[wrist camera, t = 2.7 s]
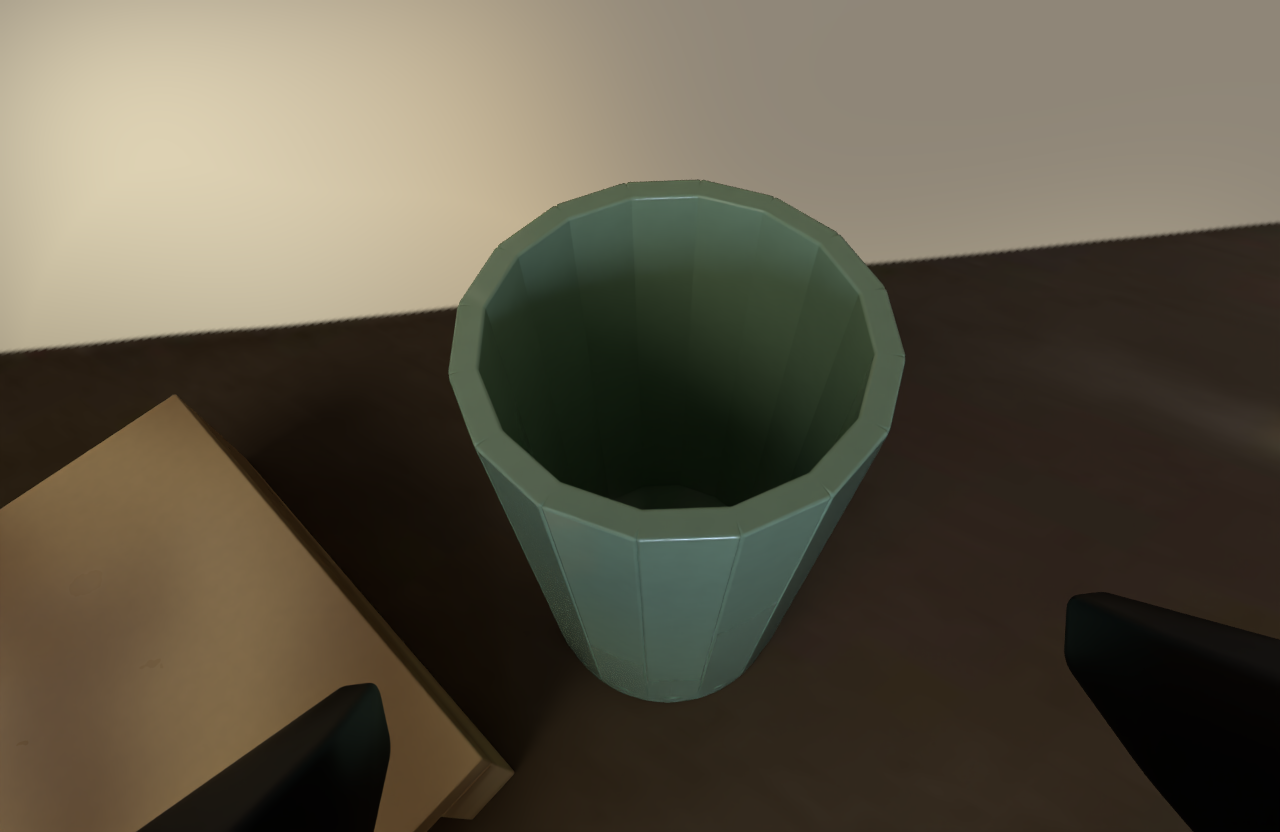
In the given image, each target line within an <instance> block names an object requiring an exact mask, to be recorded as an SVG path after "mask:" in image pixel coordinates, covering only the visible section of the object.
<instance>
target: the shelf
mask: <svg viewBox="0 0 1280 832" xmlns="http://www.w3.org/2000/svg"><path fill="white" fill-rule="evenodd" d="M363 683H373V684H375V685H376V686H377V687H378V689H379V691H380V694H381V698H382V703H383V707H384V712H385V717H386V721H387V726H388V731H389V735H390V743H391V752H390V760H389V765H388V769H387V774H386V778H385V783H384V787H383V792H382V797H381V801H380V806H379V810H378V815H377V820H376V824H375V829H374V832H427V831H428V830H429V829H430V828H431V827H432V826H433V825H434V824H435V823H436V821H437V820H438V819H439V818H440V817H449V818H460V819H471V820H472V819H473V818H474V817H475V816H476V815H477V814H478V813H479V812H480V811H481V810H482V808H483V807H484V806H485V805H486V804H487V803H488V802H489V801H490V800H491V799H492V798H493V797H494V795H495V794H496V793H497V792H498V791H499V790H500V789H501V788H502V787H503V786H504V785H505V783H506V782H507V781H508V780H509V779H510V778H511V777H512V776H513V775H514V771H513V769H512V768H511V767H510V766H509V765H508V764H507V762H506V761H505V760H504V759H503V758H502V757H501V755H500V754H499V753H498V752H497V751H496V750H495V748H494V747H493V746H492V745H491V744H490V743H489V741H488V740H487V739H486V738H485V737H484V736H483V734H482V733H481V732H480V731H479V730H478V729H477V727H476V726H475V725H474V724H473V723H472V722H471V720H470V719H469V718H468V717H467V716H466V715H465V713H464V712H463V711H462V710H461V709H460V708H459V706H458V705H457V704H456V703H455V702H454V701H453V699H452V698H451V697H450V696H449V695H448V694H447V692H446V691H445V690H444V689H443V688H442V687H441V685H440V684H439V683H438V682H437V681H436V680H435V678H434V677H433V676H432V675H431V674H430V673H429V671H428V670H427V669H426V668H425V667H424V666H423V664H422V663H421V662H420V661H419V660H418V659H417V657H416V656H415V655H414V654H413V653H412V652H411V650H410V649H409V648H408V647H407V646H406V645H405V643H404V642H403V641H402V640H401V639H400V638H399V637H398V635H397V634H396V633H395V632H394V631H393V630H392V628H391V627H390V626H389V625H388V624H387V623H386V621H385V620H384V619H383V618H382V617H381V616H380V614H379V613H378V612H377V611H376V610H375V609H374V607H373V606H372V605H371V604H370V603H369V602H368V600H367V599H366V598H365V597H364V596H363V595H362V593H361V592H360V591H359V590H358V589H357V588H356V586H355V585H354V584H353V583H352V582H351V581H350V579H349V578H348V577H347V576H346V575H345V574H344V572H343V571H342V570H341V569H340V568H339V567H338V565H337V564H336V563H335V562H334V561H333V560H332V558H331V557H330V556H329V555H328V554H327V553H326V551H325V550H324V549H323V548H322V547H321V546H320V544H319V543H318V542H317V541H316V540H315V539H314V537H313V536H312V535H311V534H310V533H309V532H308V530H307V529H306V528H305V527H304V526H303V525H302V523H301V522H300V521H299V520H298V519H297V518H296V516H295V515H294V514H293V513H292V512H291V511H290V509H289V508H288V507H287V506H286V505H285V504H284V502H283V501H282V500H281V499H280V498H279V497H278V495H277V494H276V493H275V492H274V491H273V490H272V488H271V487H270V486H269V485H268V484H267V483H266V481H265V480H264V479H263V478H262V477H261V476H260V474H259V473H258V472H257V471H256V470H255V469H254V467H253V466H252V465H251V464H250V463H249V462H248V460H247V459H246V458H245V457H244V456H243V455H242V454H241V453H239V452H238V451H237V450H236V449H235V448H234V447H233V446H232V445H231V444H230V443H229V442H227V441H226V440H225V439H224V438H223V437H222V436H221V435H220V434H219V433H218V432H217V431H215V430H214V429H213V428H212V427H211V426H210V425H209V424H208V423H207V422H206V421H205V420H203V419H202V418H201V417H200V416H199V415H198V414H197V413H196V412H195V411H194V410H193V409H191V408H190V407H189V406H188V405H187V404H186V403H185V402H184V401H183V400H182V399H181V398H179V397H178V396H177V395H173V396H171V397H170V398H168V399H167V400H165V401H164V402H162V403H161V404H159V405H157V406H156V407H154V408H153V409H151V410H150V411H148V412H147V413H145V414H144V415H142V416H141V417H139V418H138V419H136V420H135V421H133V422H132V423H130V424H129V425H127V426H126V427H124V428H123V429H121V430H120V431H118V432H117V433H115V434H114V435H112V436H111V437H109V438H108V439H106V440H104V441H103V442H101V443H100V444H98V445H97V446H95V447H94V448H92V449H91V450H89V451H88V452H86V453H85V454H83V455H82V456H80V457H79V458H77V459H76V460H74V461H73V462H71V463H70V464H68V465H67V466H65V467H64V468H62V469H61V470H59V471H58V472H56V473H55V474H53V475H51V476H50V477H48V478H47V479H45V480H44V481H42V482H41V483H39V484H38V485H36V486H35V487H33V488H32V489H30V490H29V491H27V492H26V493H24V494H23V495H21V496H20V497H18V498H17V499H15V500H14V501H12V502H11V503H9V504H8V505H6V506H5V507H3V508H2V509H0V832H136V831H138V830H139V829H140V828H142V827H143V826H145V825H146V824H148V823H149V822H150V821H152V820H153V819H155V818H156V817H157V816H159V815H160V814H162V813H163V812H165V811H166V810H167V809H169V808H170V807H172V806H173V805H174V804H176V803H177V802H179V801H180V800H182V799H183V798H184V797H186V796H187V795H189V794H190V793H191V792H193V791H194V790H196V789H197V788H199V787H200V786H201V785H203V784H204V783H206V782H207V781H208V780H210V779H211V778H213V777H214V776H216V775H217V774H218V773H220V772H221V771H223V770H224V769H225V768H227V767H228V766H230V765H231V764H232V763H234V762H235V761H237V760H238V759H240V758H241V757H242V756H244V755H245V754H247V753H248V752H249V751H251V750H252V749H254V748H255V747H257V746H258V745H259V744H261V743H262V742H264V741H265V740H266V739H268V738H269V737H271V736H272V735H274V734H275V733H276V732H278V731H279V730H281V729H282V728H283V727H285V726H286V725H288V724H289V723H291V722H292V721H293V720H295V719H296V718H298V717H299V716H300V715H302V714H303V713H305V712H306V711H308V710H309V709H310V708H312V707H313V706H315V705H316V704H317V703H319V702H320V701H322V700H323V699H325V698H326V697H327V696H329V695H330V694H332V693H333V692H334V691H336V690H337V689H339V688H340V687H343V686H346V685H355V684H363Z"/></svg>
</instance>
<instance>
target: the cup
mask: <svg viewBox="0 0 1280 832" xmlns="http://www.w3.org/2000/svg"><path fill="white" fill-rule="evenodd" d="M904 365H905V353H904V349H903V346H902V343H901V339H900V336H899V332H898V329H897V325H896V322H895V318H894V315H893V311H892V308H891V304H890V301H889V297H888V294H887V291H886V290H885V288H884V285H883V284H882V283H881V282H880V281H879V280H878V278H877V277H876V276H875V275H874V274H873V273H872V271H871V270H870V269H869V268H868V267H867V266H866V264H865V263H864V262H863V261H862V260H861V259H860V258H859V256H858V255H857V254H856V253H855V252H854V250H853V249H852V248H851V247H850V246H849V245H848V243H847V242H846V241H845V240H844V239H843V238H842V237H841V235H838V233H837V232H836V231H834V230H832V229H830V228H829V227H827V226H825V225H823V224H822V223H820V222H818V221H816V220H815V219H813V218H811V217H809V216H808V215H806V214H804V213H802V212H801V211H799V210H797V209H795V208H793V207H792V206H790V205H788V204H787V203H785V202H783V201H781V200H780V199H778V198H774V197H773V196H770V195H766V194H761V193H757V192H753V191H749V190H744V189H740V188H736V187H731V186H727V185H723V184H718V183H715V182H710V181H706V180H702V181H700V180H675V181H649V182H628V183H627V184H625V183H623V184H619V185H616V186H613V187H610V188H607V189H604V190H601V191H598V192H594V193H591V194H588V195H585V196H582V197H579V198H576V199H572V200H570V201H566V202H563V203H560V204H558V205H557V206H553V207H552V208H550V209H549V210H548V211H546V212H545V213H543V214H542V215H541V216H539V217H538V218H536V219H535V220H533V221H532V222H531V223H529V224H528V225H526V226H525V227H524V228H522V229H521V230H519V231H518V232H517V233H515V234H514V235H512V236H511V237H509V238H508V239H507V240H505V241H504V242H502V243H501V244H500V245H499V246H498V248H496V249H495V250H494V251H493V253H492V255H491V256H490V258H489V259H488V260H487V262H486V263H485V265H484V267H483V268H482V269H481V271H480V272H479V274H478V275H477V277H476V278H475V280H474V282H473V283H472V284H471V286H470V287H469V289H468V291H467V292H466V294H465V295H464V297H463V298H462V299H461V301H460V303H459V306H458V308H457V315H456V322H455V329H454V336H453V343H452V350H451V357H450V364H449V371H448V373H449V380H450V383H451V386H452V389H453V391H454V394H455V397H456V399H457V402H458V405H459V408H460V410H461V413H462V416H463V418H464V421H465V424H466V427H467V429H468V432H469V435H470V437H471V440H472V443H473V445H474V448H475V450H476V452H477V454H478V456H479V458H480V460H481V462H482V464H483V467H484V469H485V471H486V473H487V475H488V477H489V479H490V481H491V484H492V486H493V488H494V490H495V492H496V494H497V496H498V498H499V501H500V503H501V505H502V507H503V509H504V511H505V513H506V515H507V517H508V520H509V522H510V524H511V526H512V528H513V530H514V532H515V534H516V537H517V539H518V541H519V543H520V545H521V547H522V549H523V551H524V554H525V556H526V558H527V560H528V562H529V564H530V566H531V568H532V570H533V573H534V575H535V577H536V579H537V581H538V583H539V585H540V587H541V590H542V592H543V594H544V596H545V598H546V600H547V602H548V604H549V607H550V609H551V611H552V613H553V615H554V617H555V619H556V621H557V623H558V626H559V628H560V630H561V632H562V634H563V636H564V638H565V640H566V643H567V644H568V646H569V647H570V648H571V649H572V650H573V651H574V653H575V654H576V656H577V657H578V659H579V660H580V661H581V662H582V663H583V664H584V666H585V667H586V668H587V669H588V670H589V671H590V672H592V673H593V674H594V675H595V676H596V677H597V678H598V679H600V680H601V681H603V682H604V683H606V684H607V685H609V686H610V687H612V688H614V689H616V690H618V691H620V692H622V693H624V694H627V695H630V696H633V697H636V698H639V699H643V700H649V701H655V702H680V701H688V700H692V699H696V698H700V697H704V696H706V695H709V694H711V693H713V692H716V691H718V690H720V689H722V688H723V687H725V686H727V685H728V684H730V683H732V682H733V681H734V680H735V679H737V678H738V677H739V676H740V675H742V674H743V673H744V672H745V671H746V670H747V669H748V668H749V667H750V665H751V664H752V663H753V662H754V661H755V659H756V658H757V657H758V655H759V654H760V652H761V651H762V649H763V648H764V647H765V646H766V644H767V643H768V642H769V641H770V640H771V638H772V636H773V634H774V633H775V631H776V629H777V627H778V626H779V624H780V622H781V620H782V619H783V617H784V615H785V613H786V612H787V610H788V608H789V606H790V605H791V603H792V601H793V599H794V598H795V596H796V594H797V592H798V591H799V589H800V587H801V585H802V584H803V582H804V580H805V578H806V577H807V575H808V573H809V571H810V570H811V568H812V566H813V564H814V563H815V561H816V559H817V557H818V556H819V554H820V552H821V551H822V549H823V547H824V545H825V544H826V542H827V540H828V538H829V537H830V535H831V533H832V531H833V530H834V528H835V526H836V524H837V523H838V521H839V519H840V517H841V516H842V514H843V512H844V510H845V509H846V507H847V505H848V503H849V502H850V500H851V498H852V496H853V495H854V493H855V491H856V489H857V488H858V486H859V484H860V482H861V481H862V479H863V477H864V475H865V474H866V472H867V470H868V468H869V467H870V465H871V463H872V461H873V460H874V458H875V456H876V455H877V453H878V451H879V449H880V448H881V446H882V444H883V442H884V441H885V439H886V437H887V435H888V433H889V431H890V429H891V424H892V420H893V415H894V411H895V406H896V402H897V397H898V393H899V388H900V384H901V379H902V375H903V370H904Z"/></svg>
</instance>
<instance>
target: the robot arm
mask: <svg viewBox="0 0 1280 832" xmlns="http://www.w3.org/2000/svg"><path fill="white" fill-rule="evenodd" d="M1064 654H1065V659H1066V662H1067V665H1068V667H1069V669H1070V671H1071V673H1072V674H1073V676H1074V677H1075V678H1076V680H1077V681H1078V683H1079V684H1080V685H1081V687H1082V688H1083V690H1084V691H1085V692H1086V694H1087V695H1088V697H1089V698H1090V699H1091V701H1092V702H1093V703H1094V705H1095V706H1096V708H1097V709H1098V710H1099V712H1100V713H1101V715H1102V716H1103V717H1104V719H1105V720H1106V722H1107V723H1108V724H1109V726H1110V727H1111V729H1112V730H1113V731H1114V733H1115V734H1116V736H1117V737H1118V738H1119V740H1120V741H1121V743H1122V744H1123V745H1124V747H1125V748H1126V750H1127V751H1128V752H1129V754H1130V755H1131V756H1132V758H1133V759H1134V761H1135V762H1136V763H1137V764H1138V766H1139V767H1140V768H1141V770H1142V771H1143V772H1144V774H1145V775H1146V776H1147V778H1148V779H1149V780H1150V781H1151V782H1152V784H1153V785H1154V786H1155V787H1156V789H1157V790H1158V791H1159V792H1160V793H1161V795H1162V796H1163V797H1164V798H1165V799H1166V801H1167V802H1168V803H1169V804H1170V805H1171V806H1172V808H1173V809H1174V810H1175V811H1176V812H1177V813H1178V815H1179V816H1180V817H1181V818H1182V819H1183V820H1184V822H1185V823H1186V824H1187V825H1188V826H1189V827H1190V829H1191V830H1192V831H1193V832H1280V640H1279V639H1275V638H1271V637H1268V636H1264V635H1260V634H1257V633H1253V632H1250V631H1246V630H1242V629H1239V628H1235V627H1231V626H1228V625H1224V624H1220V623H1217V622H1213V621H1209V620H1206V619H1202V618H1198V617H1195V616H1191V615H1187V614H1184V613H1180V612H1176V611H1173V610H1169V609H1165V608H1162V607H1158V606H1154V605H1151V604H1147V603H1143V602H1140V601H1136V600H1132V599H1129V598H1125V597H1121V596H1118V595H1114V594H1110V593H1106V592H1096V593H1088V594H1080V595H1075V596H1073V597H1072V598H1071V599H1070V600H1069V602H1068V604H1067V610H1066V627H1065V645H1064ZM390 752H391V743H390V735H389V731H388V726H387V721H386V717H385V712H384V707H383V703H382V698H381V694H380V691H379V689H378V687H377V686H376V685H375V684H373V683H363V684H355V685H346V686H343V687H340V688H339V689H337V690H336V691H334V692H333V693H332V694H330V695H329V696H327V697H326V698H325V699H323V700H322V701H320V702H319V703H317V704H316V705H315V706H313V707H312V708H310V709H309V710H308V711H306V712H305V713H303V714H302V715H300V716H299V717H298V718H296V719H295V720H293V721H292V722H291V723H289V724H288V725H286V726H285V727H283V728H282V729H281V730H279V731H278V732H276V733H275V734H274V735H272V736H271V737H269V738H268V739H266V740H265V741H264V742H262V743H261V744H259V745H258V746H257V747H255V748H254V749H252V750H251V751H249V752H248V753H247V754H245V755H244V756H242V757H241V758H240V759H238V760H237V761H235V762H234V763H232V764H231V765H230V766H228V767H227V768H225V769H224V770H223V771H221V772H220V773H218V774H217V775H216V776H214V777H213V778H211V779H210V780H208V781H207V782H206V783H204V784H203V785H201V786H200V787H199V788H197V789H196V790H194V791H193V792H191V793H190V794H189V795H187V796H186V797H184V798H183V799H182V800H180V801H179V802H177V803H176V804H174V805H173V806H172V807H170V808H169V809H167V810H166V811H165V812H163V813H162V814H160V815H159V816H157V817H156V818H155V819H153V820H152V821H150V822H149V823H148V824H146V825H145V826H143V827H142V828H140V829H139V830H138V831H136V832H374V829H375V824H376V820H377V815H378V810H379V806H380V801H381V797H382V792H383V787H384V783H385V778H386V774H387V769H388V765H389V760H390Z"/></svg>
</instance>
